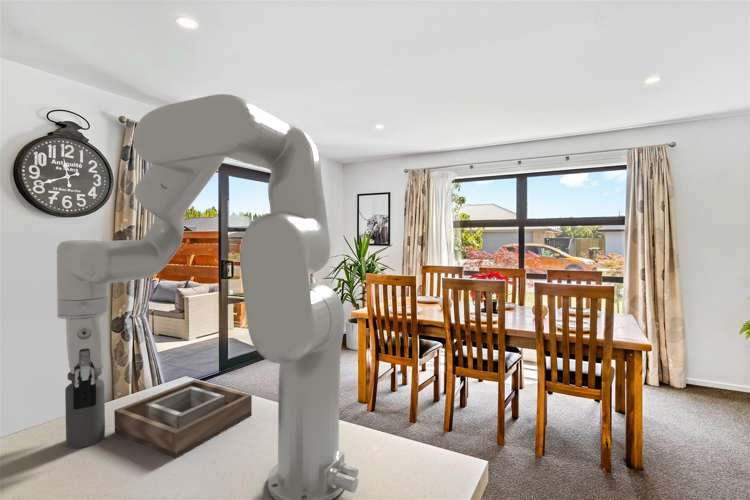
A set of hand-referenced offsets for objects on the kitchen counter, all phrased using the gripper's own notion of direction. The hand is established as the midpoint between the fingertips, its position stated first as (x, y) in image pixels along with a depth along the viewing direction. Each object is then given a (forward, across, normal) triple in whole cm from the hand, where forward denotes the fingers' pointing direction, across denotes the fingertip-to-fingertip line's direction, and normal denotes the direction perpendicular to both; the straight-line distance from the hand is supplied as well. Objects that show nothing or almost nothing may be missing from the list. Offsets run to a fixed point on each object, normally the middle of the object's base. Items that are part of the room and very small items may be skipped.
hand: (84, 397), depth 72 cm
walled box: (+8, -5, -17) cm, 19 cm away
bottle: (+8, 0, 0) cm, 8 cm away
